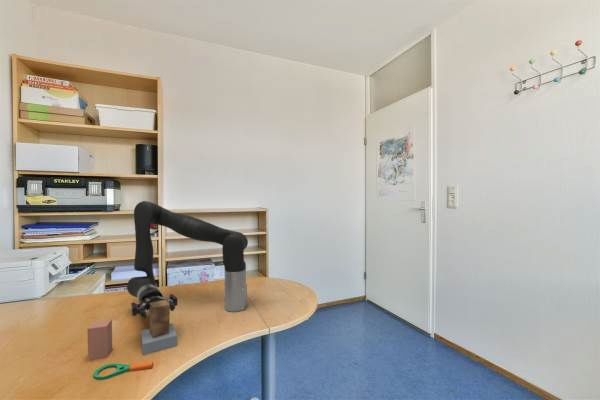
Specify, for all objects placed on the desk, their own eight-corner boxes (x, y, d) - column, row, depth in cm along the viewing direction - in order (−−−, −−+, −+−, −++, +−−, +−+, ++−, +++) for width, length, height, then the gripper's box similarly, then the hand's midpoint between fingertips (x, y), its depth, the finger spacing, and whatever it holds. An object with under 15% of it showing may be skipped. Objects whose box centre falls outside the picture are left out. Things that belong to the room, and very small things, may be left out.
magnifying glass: (88, 383, 76) (88, 377, 76) (99, 369, 82) (99, 363, 82) (149, 374, 79) (149, 368, 79) (155, 361, 85) (155, 356, 85)
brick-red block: (112, 348, 91) (111, 319, 91) (107, 357, 87) (106, 326, 86) (94, 351, 90) (93, 321, 89) (88, 360, 85) (87, 328, 85)
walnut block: (165, 327, 98) (165, 299, 98) (169, 333, 95) (169, 304, 94) (149, 331, 95) (149, 303, 95) (153, 337, 91) (153, 307, 91)
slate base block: (172, 333, 102) (172, 323, 102) (177, 346, 93) (176, 335, 93) (141, 341, 96) (141, 330, 96) (143, 356, 88) (142, 344, 88)
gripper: (127, 291, 101) (134, 306, 89) (169, 283, 110) (181, 295, 98) (128, 311, 102) (135, 329, 89) (169, 301, 111) (181, 316, 98)
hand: (159, 311), depth 93 cm, fingers open, 8 cm apart
